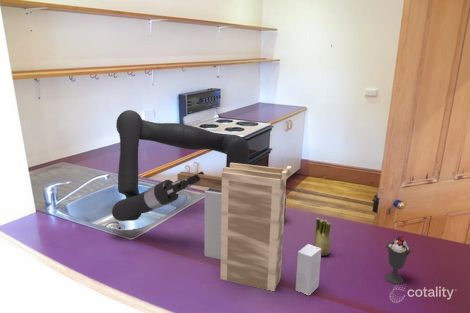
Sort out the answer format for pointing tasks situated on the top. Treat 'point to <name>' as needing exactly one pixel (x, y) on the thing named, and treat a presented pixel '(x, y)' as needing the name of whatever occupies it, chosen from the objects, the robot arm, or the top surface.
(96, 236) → the top surface
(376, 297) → the top surface
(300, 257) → the skincare box
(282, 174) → the birch shelf
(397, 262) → the sundae
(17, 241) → the top surface
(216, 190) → the grey pedestal
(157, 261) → the top surface
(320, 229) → the fennel bulb
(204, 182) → the walnut bar
